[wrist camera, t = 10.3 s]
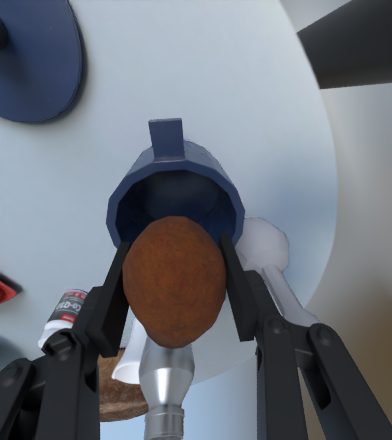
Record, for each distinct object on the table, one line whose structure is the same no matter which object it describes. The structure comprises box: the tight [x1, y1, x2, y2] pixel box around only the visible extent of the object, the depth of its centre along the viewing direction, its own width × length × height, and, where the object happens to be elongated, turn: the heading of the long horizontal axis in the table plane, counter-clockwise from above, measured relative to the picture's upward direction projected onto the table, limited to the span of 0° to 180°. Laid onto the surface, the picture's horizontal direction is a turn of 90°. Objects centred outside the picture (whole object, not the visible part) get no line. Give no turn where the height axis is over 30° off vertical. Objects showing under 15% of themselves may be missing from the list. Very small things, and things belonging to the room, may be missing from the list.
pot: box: [106, 118, 245, 249], centre depth 22 cm, size 13×18×10 cm
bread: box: [97, 349, 149, 422], centre depth 48 cm, size 26×27×10 cm
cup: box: [112, 317, 147, 384], centre depth 37 cm, size 9×9×10 cm
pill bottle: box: [38, 290, 87, 349], centre depth 32 cm, size 5×5×8 cm
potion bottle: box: [235, 218, 321, 327], centre depth 23 cm, size 9×9×18 cm
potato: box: [122, 216, 227, 349], centre depth 12 cm, size 7×9×6 cm
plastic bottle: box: [138, 335, 195, 440], centre depth 26 cm, size 6×7×20 cm
